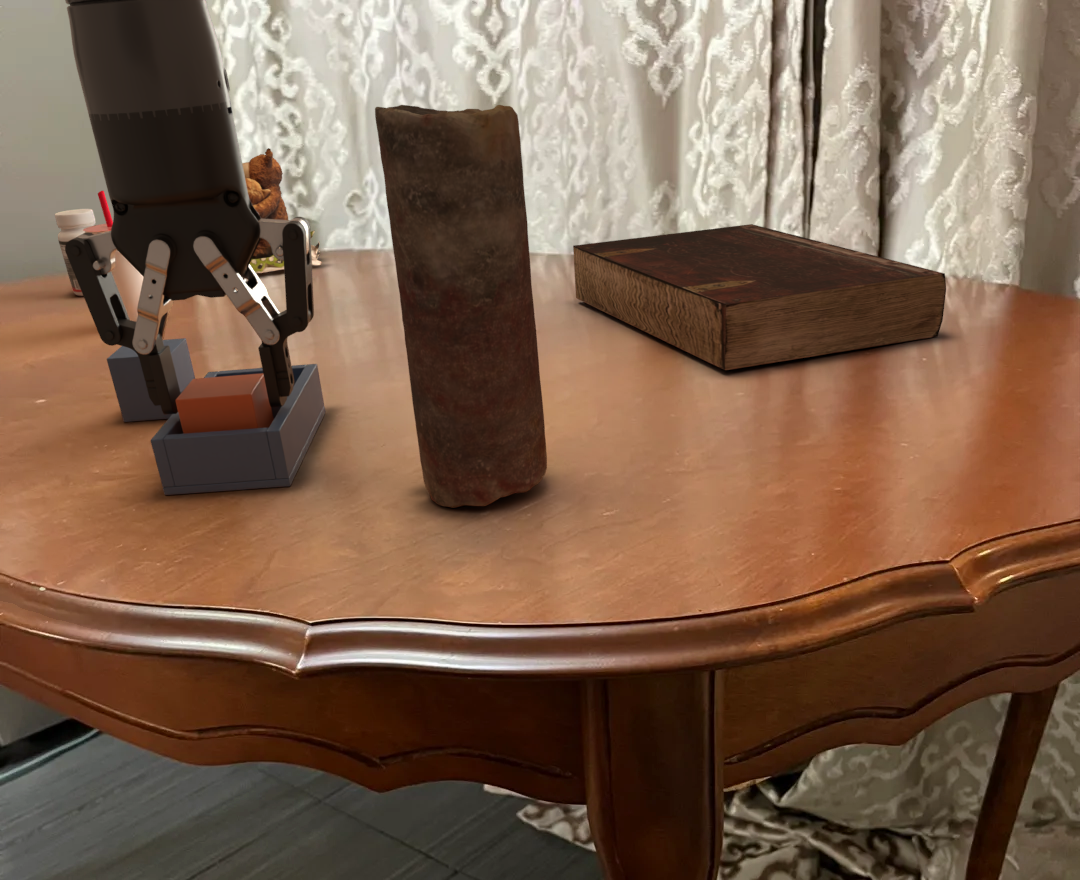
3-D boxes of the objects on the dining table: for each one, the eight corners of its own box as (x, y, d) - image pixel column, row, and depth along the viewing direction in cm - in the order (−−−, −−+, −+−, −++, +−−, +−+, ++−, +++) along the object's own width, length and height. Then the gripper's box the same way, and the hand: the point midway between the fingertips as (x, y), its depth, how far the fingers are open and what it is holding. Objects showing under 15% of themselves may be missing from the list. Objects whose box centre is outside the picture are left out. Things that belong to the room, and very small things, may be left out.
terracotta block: (192, 473, 69) (174, 399, 67) (209, 448, 73) (192, 378, 71) (266, 467, 69) (250, 393, 67) (278, 443, 73) (264, 372, 71)
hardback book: (940, 335, 86) (948, 267, 84) (724, 375, 81) (726, 304, 79) (752, 274, 110) (754, 219, 107) (576, 302, 105) (573, 245, 102)
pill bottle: (107, 285, 128) (86, 206, 124) (123, 290, 125) (103, 209, 121) (67, 293, 126) (44, 213, 122) (82, 298, 123) (60, 216, 118)
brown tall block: (425, 470, 69) (377, 101, 58) (543, 460, 69) (517, 90, 58) (423, 517, 62) (369, 112, 52) (553, 505, 62) (526, 99, 52)
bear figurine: (198, 263, 137) (174, 152, 130) (321, 250, 139) (303, 140, 132) (189, 284, 125) (162, 164, 119) (323, 270, 127) (303, 151, 121)
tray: (164, 495, 68) (149, 439, 66) (219, 420, 81) (207, 371, 79) (290, 486, 68) (279, 430, 66) (325, 412, 81) (317, 363, 79)
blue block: (123, 422, 82) (106, 358, 80) (141, 403, 86) (125, 342, 83) (185, 417, 82) (169, 354, 79) (200, 399, 86) (186, 337, 83)
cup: (100, 325, 111) (64, 193, 104) (151, 314, 113) (119, 184, 107) (121, 332, 107) (85, 196, 101) (173, 321, 110) (141, 187, 103)
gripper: (0, 116, 57) (93, 435, 66) (277, 94, 57) (333, 417, 66) (51, 105, 64) (130, 398, 73) (301, 85, 63) (349, 381, 72)
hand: (226, 406), depth 69 cm, fingers open, 6 cm apart
